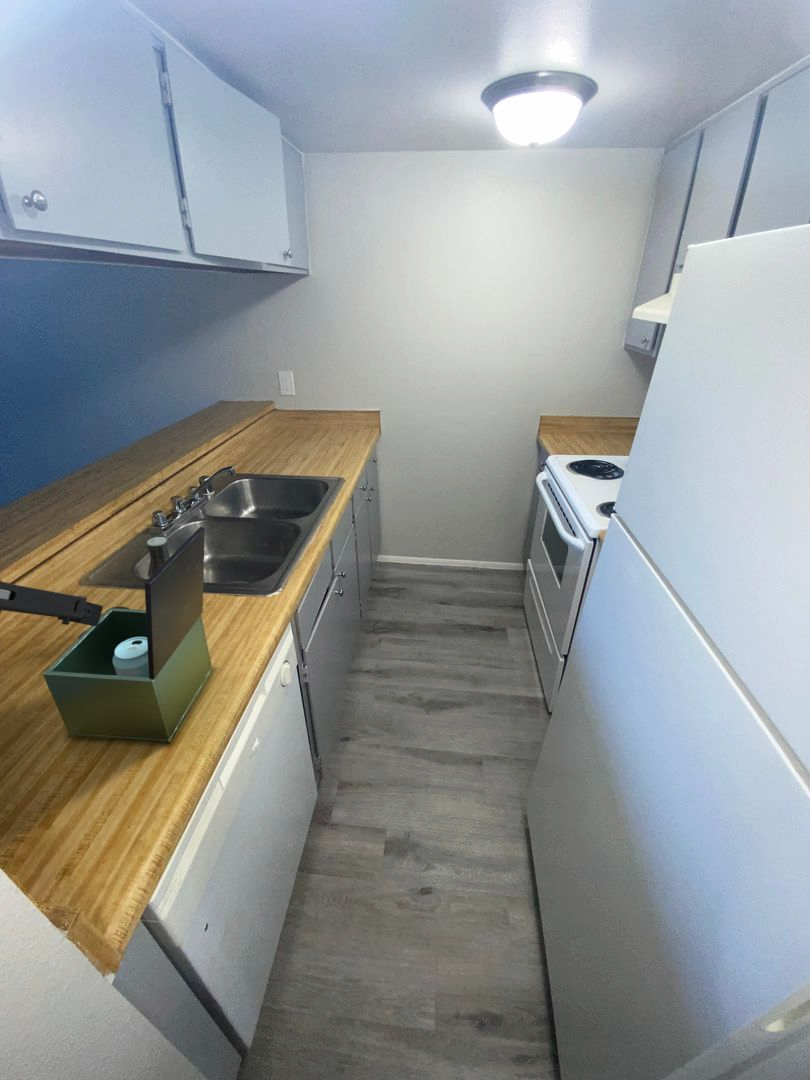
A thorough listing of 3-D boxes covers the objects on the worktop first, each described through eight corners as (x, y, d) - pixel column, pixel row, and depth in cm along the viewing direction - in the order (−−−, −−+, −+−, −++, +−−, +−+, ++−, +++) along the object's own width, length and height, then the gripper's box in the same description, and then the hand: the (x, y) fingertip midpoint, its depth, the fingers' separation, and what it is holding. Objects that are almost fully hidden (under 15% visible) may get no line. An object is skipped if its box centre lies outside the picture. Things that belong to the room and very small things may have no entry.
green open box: (69, 736, 81) (42, 674, 74) (128, 664, 96) (110, 607, 90) (170, 743, 80) (152, 681, 73) (212, 670, 96) (201, 613, 89)
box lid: (144, 582, 65) (150, 583, 65) (200, 526, 80) (204, 527, 80) (148, 679, 73) (154, 680, 73) (198, 611, 89) (202, 612, 89)
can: (121, 695, 88) (104, 645, 82) (160, 677, 92) (147, 628, 87) (133, 718, 84) (116, 667, 78) (174, 698, 88) (161, 648, 82)
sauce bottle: (154, 612, 112) (135, 538, 102) (181, 602, 115) (165, 530, 106) (163, 626, 107) (144, 550, 98) (191, 615, 111) (175, 541, 102)
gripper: (23, 546, 44) (145, 590, 64) (-235, 531, 44) (-33, 579, 65) (-3, 628, 41) (132, 647, 62) (-274, 610, 42) (-52, 635, 62)
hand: (48, 612), depth 63 cm, fingers open, 13 cm apart
